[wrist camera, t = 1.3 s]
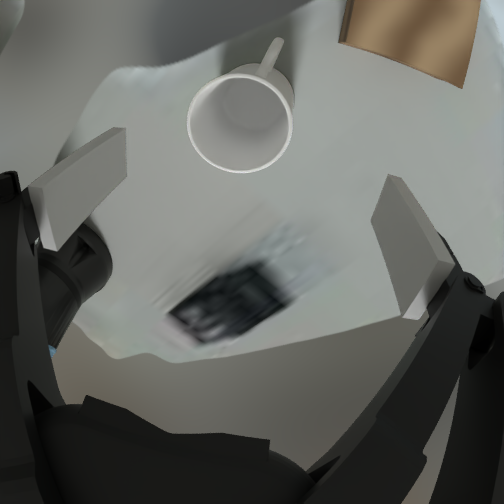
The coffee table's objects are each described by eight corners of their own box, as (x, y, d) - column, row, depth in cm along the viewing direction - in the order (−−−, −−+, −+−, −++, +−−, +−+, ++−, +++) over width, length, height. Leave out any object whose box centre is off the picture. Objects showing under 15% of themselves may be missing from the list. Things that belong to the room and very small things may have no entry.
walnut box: (336, 43, 26) (345, 42, 21) (354, -49, 18) (366, -65, 13) (437, 80, 26) (462, 89, 21) (455, -7, 18) (482, -11, 14)
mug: (252, 26, 26) (232, 14, 16) (323, 63, 27) (341, 70, 18) (204, 115, 33) (167, 147, 23) (270, 148, 34) (261, 194, 25)
